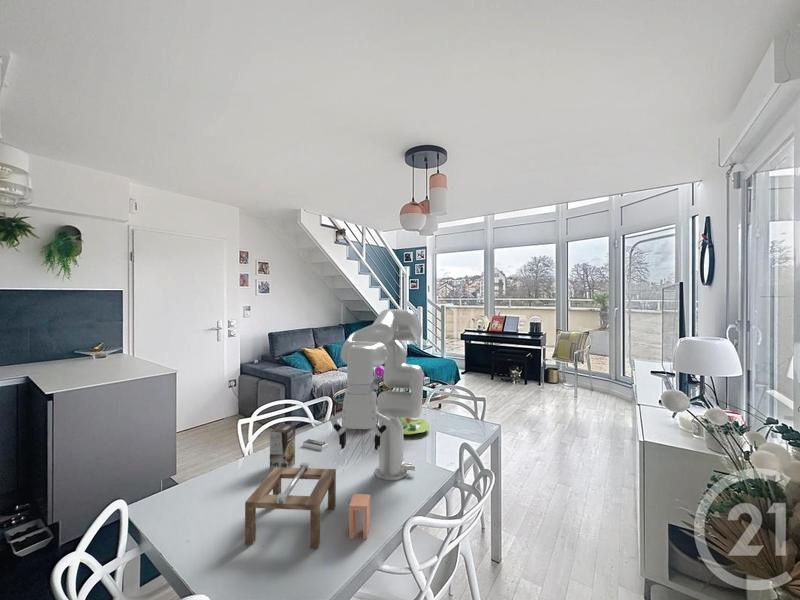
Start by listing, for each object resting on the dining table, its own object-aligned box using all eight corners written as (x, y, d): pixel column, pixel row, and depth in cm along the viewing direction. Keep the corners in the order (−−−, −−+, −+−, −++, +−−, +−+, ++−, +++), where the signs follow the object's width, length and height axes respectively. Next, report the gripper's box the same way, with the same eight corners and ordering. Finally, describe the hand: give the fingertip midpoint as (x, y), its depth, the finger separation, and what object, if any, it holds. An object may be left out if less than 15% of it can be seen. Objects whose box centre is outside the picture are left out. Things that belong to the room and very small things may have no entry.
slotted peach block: (369, 525, 105) (370, 494, 105) (366, 539, 99) (367, 506, 99) (353, 524, 105) (353, 493, 105) (349, 538, 99) (349, 505, 99)
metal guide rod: (309, 468, 115) (309, 462, 115) (285, 503, 95) (285, 496, 95) (301, 468, 115) (301, 462, 115) (276, 503, 95) (276, 496, 95)
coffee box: (284, 474, 135) (284, 432, 135) (269, 472, 136) (269, 431, 136) (296, 463, 144) (296, 424, 144) (281, 462, 145) (281, 423, 145)
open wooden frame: (335, 506, 115) (335, 469, 115) (317, 549, 95) (317, 504, 95) (275, 503, 116) (275, 467, 116) (245, 546, 96) (245, 502, 96)
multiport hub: (322, 451, 156) (322, 446, 156) (302, 447, 161) (302, 442, 161) (328, 448, 160) (328, 442, 160) (308, 443, 165) (308, 438, 165)
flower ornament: (362, 433, 180) (358, 365, 180) (392, 415, 205) (389, 354, 204) (414, 443, 165) (410, 369, 164) (439, 422, 189) (436, 357, 188)
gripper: (391, 385, 105) (390, 443, 105) (333, 384, 106) (333, 441, 106) (388, 392, 98) (388, 454, 98) (327, 390, 99) (326, 452, 99)
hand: (359, 447), depth 102 cm, fingers open, 9 cm apart
